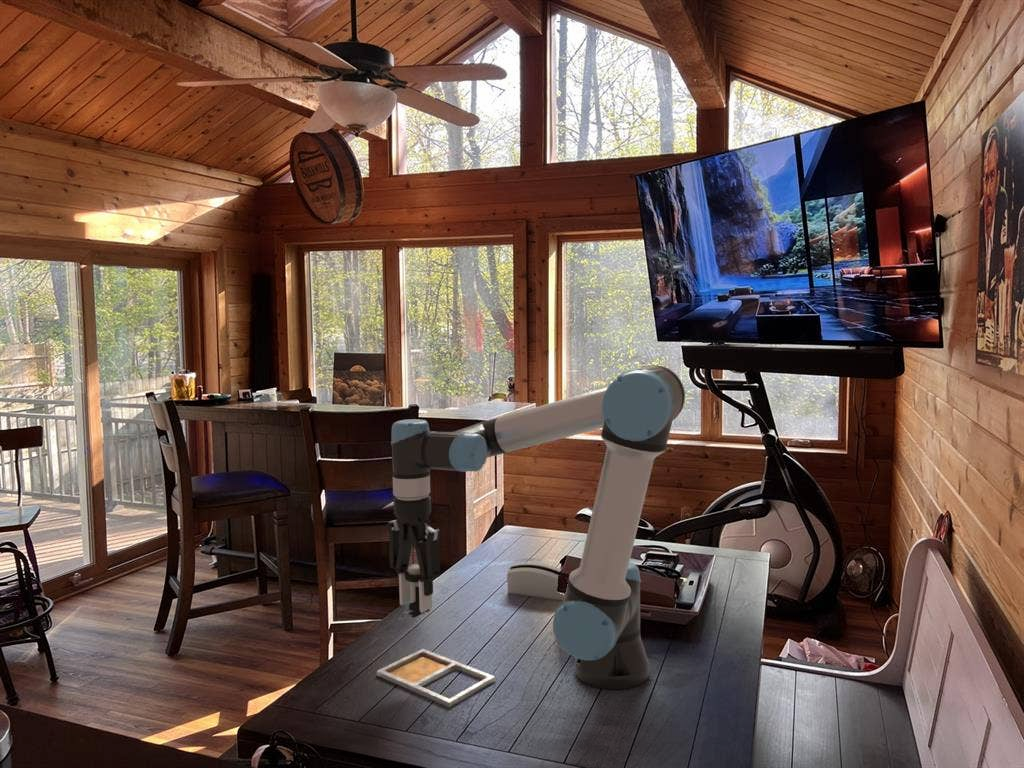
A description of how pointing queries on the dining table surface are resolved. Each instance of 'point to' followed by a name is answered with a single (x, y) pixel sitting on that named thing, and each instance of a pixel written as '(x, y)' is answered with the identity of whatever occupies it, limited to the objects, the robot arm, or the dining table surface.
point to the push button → (413, 590)
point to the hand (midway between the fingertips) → (415, 606)
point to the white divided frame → (431, 675)
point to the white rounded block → (534, 580)
